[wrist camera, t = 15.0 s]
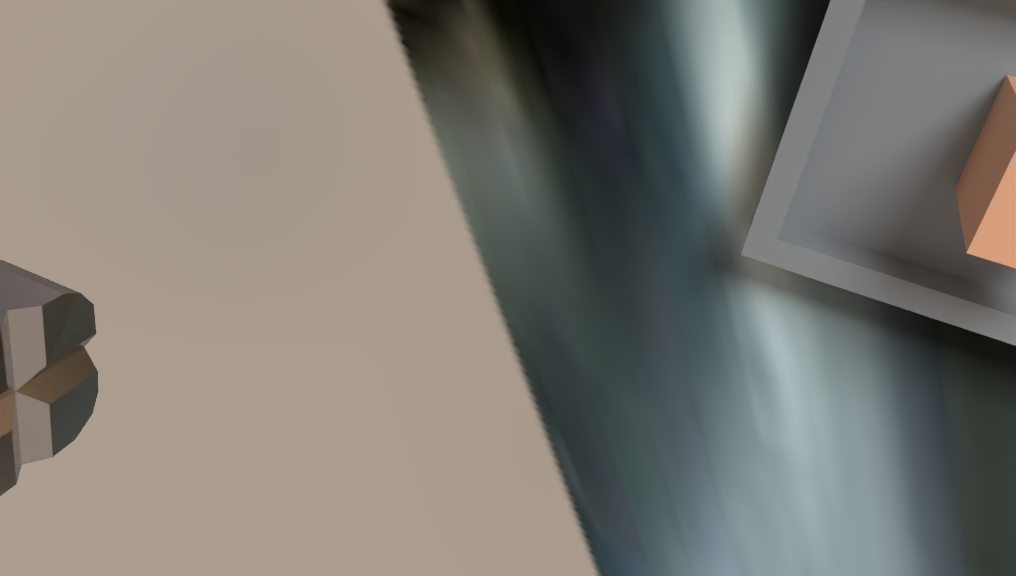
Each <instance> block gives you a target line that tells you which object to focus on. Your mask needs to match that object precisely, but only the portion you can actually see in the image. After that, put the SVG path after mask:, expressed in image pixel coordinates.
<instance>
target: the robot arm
mask: <svg viewBox="0 0 1016 576" xmlns="http://www.w3.org/2000/svg"><path fill="white" fill-rule="evenodd" d="M95 334H96V327H95V316H94V305H93V304H92V303H91V302H90V301H89V300H88V299H87V298H85V297H84V296H83V295H82V294H81V293H79V292H76V291H74V290H72V289H69V288H67V287H65V286H62V285H60V284H58V283H55V282H53V281H50V280H48V279H46V278H43V277H41V276H38V275H36V274H34V273H31V272H29V271H27V270H24V269H22V268H19V267H17V266H15V265H13V264H10V263H7V262H5V261H3V260H0V496H1V495H2V494H3V493H5V492H6V491H8V490H9V489H10V488H12V487H13V486H14V485H16V484H17V480H18V476H19V472H20V469H21V465H22V464H26V463H30V462H33V461H38V460H42V459H46V458H50V457H53V456H54V455H56V454H57V453H58V452H59V451H61V450H62V449H63V448H65V447H66V446H67V445H68V444H70V443H71V442H72V441H74V440H75V439H76V437H77V436H78V434H79V433H80V431H81V430H82V428H83V427H84V425H85V424H86V422H87V421H88V419H89V418H90V416H91V415H92V413H93V409H94V405H95V402H96V398H97V394H98V371H97V369H96V367H95V366H94V364H93V362H92V360H91V358H90V357H89V355H88V353H87V351H86V349H85V348H84V346H85V345H86V344H87V343H88V342H89V341H90V340H91V339H92V338H93V337H94V335H95Z"/></svg>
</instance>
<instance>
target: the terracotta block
mask: <svg viewBox="0 0 1016 576" xmlns="http://www.w3.org/2000/svg"><path fill="white" fill-rule="evenodd" d="M955 190H956V196H957V202H958V207H959V213H960V219H961V225H962V230H963V236H964V242H965V248H966V253H968V254H971V255H974V256H977V257H981V258H984V259H987V260H990V261H993V262H997V263H1000V264H1003V265H1006V266H1010V267H1013V268H1016V77H1012V76H1009V75H1006V77H1005V80H1004V82H1003V84H1002V86H1001V88H1000V91H999V93H998V95H997V97H996V99H995V102H994V104H993V106H992V108H991V110H990V113H989V115H988V117H987V119H986V121H985V124H984V126H983V128H982V130H981V132H980V135H979V137H978V139H977V141H976V143H975V146H974V148H973V150H972V152H971V154H970V157H969V159H968V161H967V163H966V165H965V168H964V170H963V172H962V174H961V176H960V179H959V181H958V183H957V185H956V187H955Z"/></svg>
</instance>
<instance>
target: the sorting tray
mask: <svg viewBox="0 0 1016 576" xmlns="http://www.w3.org/2000/svg"><path fill="white" fill-rule="evenodd" d="M1006 75H1009V76H1012V77H1016V0H831V1H830V3H829V6H828V9H827V12H826V15H825V17H824V20H823V23H822V26H821V29H820V32H819V34H818V37H817V40H816V43H815V46H814V49H813V51H812V54H811V57H810V60H809V63H808V66H807V68H806V71H805V74H804V77H803V80H802V83H801V85H800V88H799V91H798V94H797V97H796V100H795V102H794V105H793V108H792V111H791V114H790V116H789V119H788V122H787V125H786V128H785V131H784V133H783V136H782V139H781V142H780V145H779V148H778V150H777V153H776V156H775V159H774V162H773V165H772V167H771V170H770V173H769V176H768V179H767V182H766V184H765V187H764V190H763V193H762V196H761V199H760V201H759V204H758V207H757V210H756V213H755V215H754V218H753V221H752V224H751V227H750V230H749V232H748V235H747V238H746V241H745V244H744V247H743V249H742V252H741V255H742V256H745V257H748V258H751V259H754V260H757V261H760V262H763V263H766V264H769V265H772V266H775V267H778V268H781V269H784V270H787V271H790V272H794V273H797V274H800V275H803V276H806V277H809V278H812V279H815V280H818V281H821V282H824V283H827V284H830V285H833V286H836V287H839V288H842V289H845V290H848V291H851V292H854V293H857V294H860V295H863V296H866V297H869V298H872V299H875V300H878V301H882V302H885V303H888V304H891V305H894V306H897V307H900V308H903V309H906V310H909V311H912V312H915V313H918V314H921V315H924V316H927V317H930V318H933V319H936V320H939V321H942V322H945V323H948V324H951V325H954V326H957V327H960V328H963V329H966V330H970V331H973V332H976V333H979V334H982V335H985V336H988V337H991V338H994V339H997V340H1000V341H1003V342H1006V343H1009V344H1012V345H1015V346H1016V268H1013V267H1010V266H1006V265H1003V264H1000V263H997V262H993V261H990V260H987V259H984V258H981V257H977V256H974V255H971V254H968V253H966V248H965V242H964V236H963V230H962V225H961V219H960V213H959V207H958V202H957V196H956V190H955V187H956V185H957V183H958V181H959V179H960V176H961V174H962V172H963V170H964V168H965V165H966V163H967V161H968V159H969V157H970V154H971V152H972V150H973V148H974V146H975V143H976V141H977V139H978V137H979V135H980V132H981V130H982V128H983V126H984V124H985V121H986V119H987V117H988V115H989V113H990V110H991V108H992V106H993V104H994V102H995V99H996V97H997V95H998V93H999V91H1000V88H1001V86H1002V84H1003V82H1004V80H1005V77H1006Z"/></svg>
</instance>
